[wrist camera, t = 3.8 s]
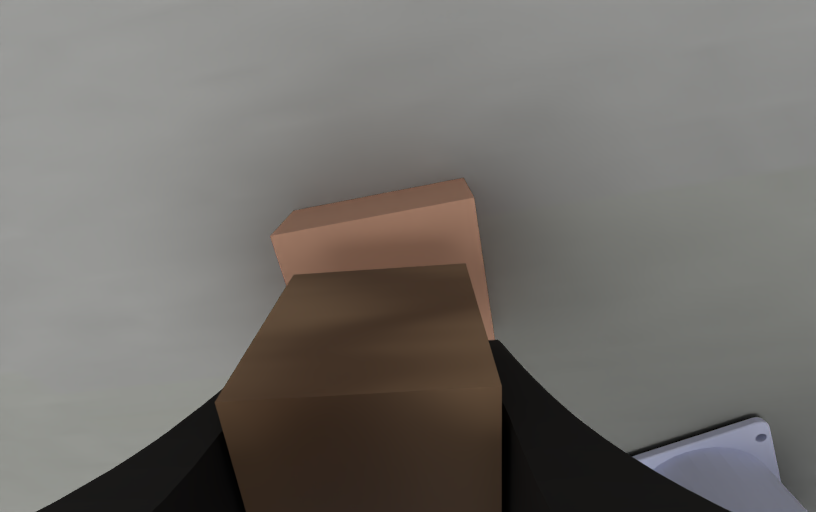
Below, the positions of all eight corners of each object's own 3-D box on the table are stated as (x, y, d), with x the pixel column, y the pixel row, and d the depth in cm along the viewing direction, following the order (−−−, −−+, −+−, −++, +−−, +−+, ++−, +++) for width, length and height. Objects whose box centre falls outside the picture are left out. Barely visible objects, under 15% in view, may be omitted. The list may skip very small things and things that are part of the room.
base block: (463, 176, 18) (473, 197, 15) (485, 325, 20) (499, 372, 17) (295, 208, 18) (270, 236, 15) (337, 350, 21) (323, 399, 18)
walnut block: (465, 262, 12) (501, 386, 7) (470, 404, 13) (501, 580, 8) (294, 274, 12) (214, 401, 7) (319, 412, 13) (268, 590, 9)
